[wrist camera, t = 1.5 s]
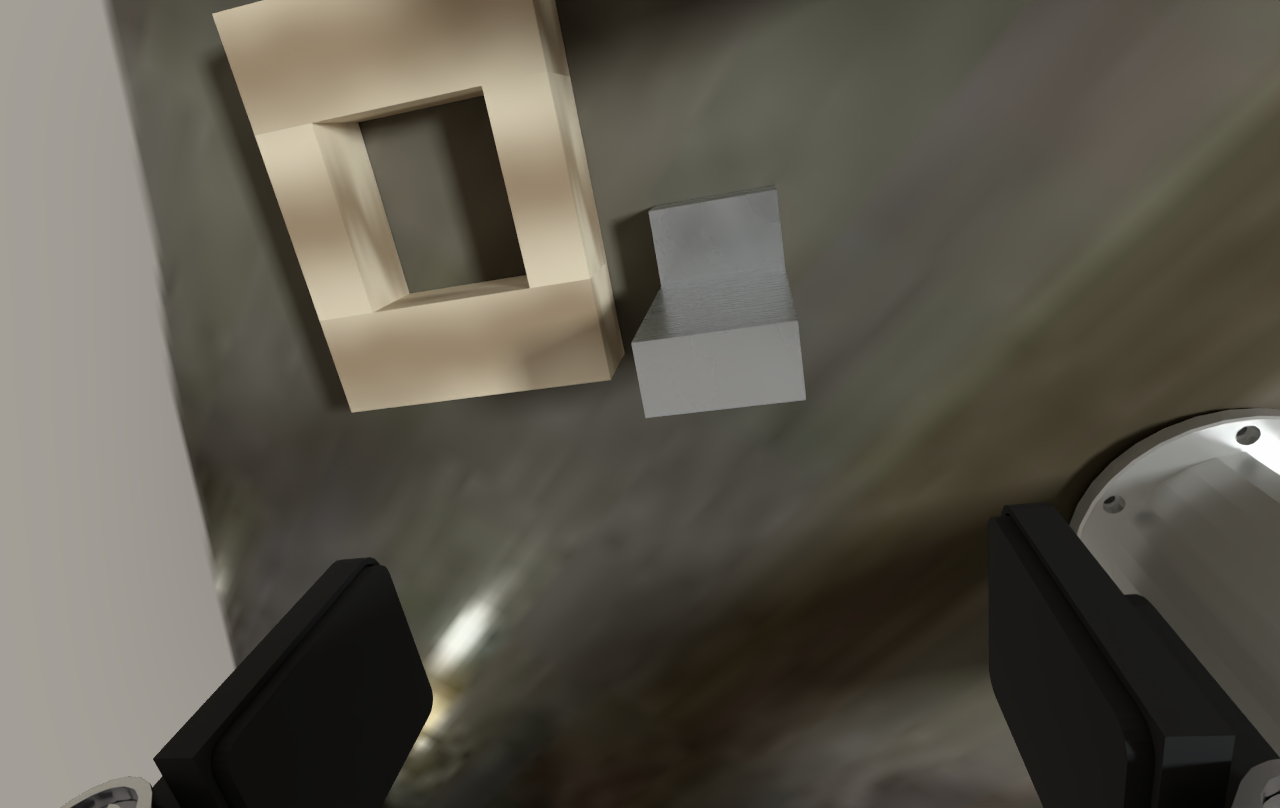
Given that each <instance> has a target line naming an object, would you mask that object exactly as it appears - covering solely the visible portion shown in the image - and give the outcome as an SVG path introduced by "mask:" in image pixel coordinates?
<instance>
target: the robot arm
mask: <svg viewBox="0 0 1280 808" xmlns="http://www.w3.org/2000/svg"><path fill="white" fill-rule="evenodd" d="M988 566H989V672H990V678H991V683H992V687H993V691H994V694H995V696H996V699H997V701H998V703H999V706H1000V708H1001V710H1002V713H1003V715H1004V717H1005V720H1006V722H1007V724H1008V726H1009V729H1010V731H1011V733H1012V736H1013V738H1014V740H1015V743H1016V745H1017V747H1018V750H1019V752H1020V754H1021V757H1022V759H1023V761H1024V764H1025V766H1026V768H1027V770H1028V773H1029V775H1030V777H1031V780H1032V782H1033V784H1034V787H1035V789H1036V791H1037V794H1038V796H1039V798H1040V801H1041V803H1042V805H1043V808H1280V410H1277V409H1267V408H1252V409H1235V410H1225V411H1221V412H1216V413H1211V414H1207V415H1202V416H1197V417H1194V418H1191V419H1188V420H1185V421H1183V422H1180V423H1177V424H1175V425H1172V426H1169V427H1166V428H1164V429H1162V430H1160V431H1158V432H1156V433H1155V434H1153V435H1151V436H1149V437H1147V438H1145V439H1143V440H1142V441H1140V442H1138V443H1136V444H1135V445H1133V446H1132V447H1131V448H1129V449H1128V450H1127V451H1125V452H1124V453H1123V454H1121V455H1120V456H1119V457H1118V458H1116V459H1115V460H1114V461H1112V462H1111V463H1110V464H1109V465H1108V466H1107V467H1106V468H1105V469H1104V470H1103V472H1102V473H1101V474H1100V475H1099V476H1098V477H1097V478H1096V479H1095V480H1094V481H1093V482H1092V483H1091V485H1090V486H1089V488H1088V489H1087V491H1086V492H1085V494H1084V495H1083V497H1082V498H1081V500H1080V501H1079V503H1078V504H1077V507H1076V509H1075V512H1074V514H1073V517H1072V519H1071V522H1070V524H1068V523H1067V522H1066V521H1065V519H1064V518H1063V517H1062V516H1061V514H1060V513H1059V512H1058V511H1057V509H1056V508H1055V507H1054V506H1053V505H1052V504H1051V503H1049V502H1042V503H1029V504H1017V505H1005V506H1004V507H1003V510H1002V515H1001V516H998V517H991V518H990V519H989V524H988ZM432 704H433V693H432V689H431V686H430V683H429V681H428V678H427V675H426V672H425V670H424V667H423V664H422V661H421V659H420V656H419V653H418V650H417V648H416V645H415V642H414V639H413V637H412V634H411V631H410V628H409V626H408V623H407V620H406V617H405V615H404V612H403V609H402V606H401V604H400V601H399V598H398V595H397V592H396V590H395V587H394V584H393V581H392V579H391V576H390V573H389V571H388V569H387V568H386V567H385V566H382V565H379V563H378V562H377V561H376V560H375V559H374V558H371V557H369V558H356V559H344V560H338V561H336V562H335V563H333V564H332V565H331V566H330V567H329V568H328V569H327V571H326V572H325V573H324V574H323V575H322V576H321V577H320V578H319V579H318V580H317V581H316V582H315V584H314V585H313V586H312V587H311V588H310V589H309V590H308V591H307V592H306V593H305V594H304V595H303V597H302V598H301V599H300V600H299V601H298V602H297V603H296V604H295V605H294V606H293V607H292V609H291V610H290V611H289V612H288V613H287V614H286V615H285V616H284V617H283V618H282V619H281V620H280V622H279V623H278V624H277V625H276V626H275V627H274V628H273V629H272V630H271V631H270V632H269V633H268V635H267V636H266V637H265V638H264V639H263V640H262V641H261V642H260V643H259V644H258V645H257V646H256V648H255V649H254V650H253V651H252V652H251V653H250V654H249V655H248V656H247V657H246V658H245V660H244V661H243V662H242V663H241V664H240V665H239V666H238V667H237V668H236V669H235V670H234V671H233V673H232V674H231V675H230V676H229V677H228V678H227V679H226V680H225V681H224V683H222V684H221V686H220V687H219V688H218V689H217V690H216V691H215V692H214V693H213V694H212V696H210V698H209V699H208V700H207V701H206V702H205V703H204V704H203V705H202V706H201V707H200V708H199V710H198V711H197V712H196V713H195V714H194V715H193V716H192V717H191V718H190V719H189V720H188V721H187V722H186V724H185V725H184V726H183V727H182V728H181V729H180V730H179V731H178V732H177V733H176V734H175V736H174V737H173V738H172V739H171V740H170V741H169V742H168V743H167V744H166V745H165V746H164V748H163V749H162V750H161V751H160V752H159V753H158V754H157V755H156V756H155V757H154V758H153V760H154V761H155V763H156V765H157V767H158V768H159V770H160V772H161V774H162V777H161V779H160V780H159V781H158V782H157V783H156V784H155V785H154V787H153V788H152V786H151V784H150V783H149V782H147V781H146V780H144V779H143V778H141V777H124V778H120V779H115V780H111V781H108V782H106V783H103V784H101V785H98V786H96V787H93V788H91V789H90V790H88V791H86V792H84V793H82V794H81V795H79V796H77V797H75V798H74V799H72V800H71V801H69V802H68V803H66V804H65V805H64V806H62V807H61V808H381V806H382V804H383V802H384V800H385V798H386V797H387V795H388V793H389V791H390V789H391V787H392V785H393V783H394V781H395V779H396V778H397V776H398V774H399V772H400V770H401V768H402V766H403V764H404V762H405V760H406V759H407V757H408V755H409V753H410V751H411V749H412V747H413V745H414V743H415V742H416V740H417V738H418V736H419V734H420V732H421V730H422V728H423V726H424V724H425V723H426V721H427V719H428V717H429V715H430V712H431V709H432Z"/></svg>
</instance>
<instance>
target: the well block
mask: <svg viewBox="0 0 1280 808" xmlns="http://www.w3.org/2000/svg"><path fill="white" fill-rule="evenodd" d="M212 15H213V18H214V21H215V23H216V26H217V29H218V32H219V35H220V38H221V41H222V43H223V46H224V49H225V52H226V55H227V58H228V61H229V63H230V66H231V69H232V72H233V75H234V78H235V81H236V83H237V86H238V89H239V92H240V95H241V98H242V100H243V103H244V106H245V109H246V112H247V115H248V118H249V120H250V123H251V126H252V129H253V132H254V135H255V138H256V140H257V143H258V146H259V149H260V152H261V155H262V158H263V160H264V163H265V166H266V169H267V172H268V175H269V178H270V180H271V183H272V186H273V189H274V192H275V195H276V198H277V200H278V203H279V206H280V209H281V212H282V215H283V218H284V220H285V223H286V226H287V229H288V232H289V235H290V238H291V240H292V243H293V246H294V249H295V252H296V255H297V258H298V260H299V263H300V266H301V269H302V272H303V275H304V278H305V280H306V283H307V286H308V289H309V292H310V295H311V298H312V300H313V303H314V306H315V309H316V312H317V315H318V318H319V320H320V323H321V326H322V329H323V332H324V335H325V338H326V340H327V343H328V346H329V349H330V352H331V355H332V358H333V360H334V363H335V366H336V369H337V372H338V375H339V378H340V380H341V383H342V386H343V389H344V392H345V395H346V398H347V400H348V403H349V406H350V409H351V412H359V411H367V410H375V409H383V408H391V407H399V406H407V405H415V404H423V403H431V402H439V401H447V400H455V399H463V398H471V397H479V396H487V395H495V394H503V393H511V392H519V391H527V390H535V389H543V388H551V387H559V386H567V385H575V384H583V383H591V382H599V381H607V380H611V379H612V377H613V375H614V373H615V371H616V369H617V367H618V366H619V364H620V362H621V360H622V358H623V356H624V354H625V353H624V348H623V343H622V338H621V333H620V328H619V323H618V318H617V312H616V307H615V302H614V297H613V292H612V287H611V282H610V277H609V272H608V267H607V262H606V257H605V252H604V246H603V241H602V236H601V231H600V226H599V221H598V216H597V211H596V206H595V201H594V196H593V191H592V186H591V180H590V175H589V170H588V165H587V160H586V155H585V150H584V145H583V140H582V135H581V130H580V125H579V119H578V114H577V109H576V104H575V99H574V94H573V89H572V84H571V79H570V74H569V69H568V64H567V59H566V53H565V48H564V43H563V38H562V33H561V28H560V23H559V18H558V13H557V8H556V3H555V0H263V1H259V2H256V3H252V4H248V5H244V6H240V7H237V8H233V9H229V10H225V11H221V12H218V13H214V14H212ZM483 95H484V98H485V102H486V106H487V110H488V114H489V119H490V123H491V127H492V131H493V135H494V140H495V144H496V148H497V152H498V156H499V161H500V165H501V169H502V173H503V177H504V182H505V186H506V190H507V194H508V198H509V203H510V207H511V211H512V215H513V219H514V224H515V228H516V232H517V236H518V240H519V245H520V249H521V253H522V257H523V261H524V266H525V270H526V274H527V275H523V276H517V277H510V278H504V279H498V280H492V281H485V282H479V283H473V284H467V285H460V286H454V287H448V288H442V289H435V290H429V291H423V292H417V293H410V294H409V291H408V287H407V284H406V281H405V277H404V274H403V271H402V267H401V264H400V261H399V257H398V254H397V250H396V247H395V244H394V240H393V237H392V234H391V230H390V227H389V224H388V220H387V217H386V214H385V210H384V207H383V204H382V200H381V197H380V194H379V190H378V187H377V184H376V180H375V177H374V174H373V170H372V167H371V164H370V160H369V157H368V154H367V150H366V147H365V144H364V140H363V137H362V134H361V130H360V127H359V124H358V123H359V122H363V121H368V120H373V119H377V118H382V117H386V116H391V115H396V114H400V113H405V112H409V111H414V110H419V109H423V108H428V107H433V106H437V105H442V104H446V103H451V102H456V101H460V100H465V99H470V98H474V97H479V96H483Z"/></svg>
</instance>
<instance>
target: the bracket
mask: <svg viewBox="0 0 1280 808" xmlns="http://www.w3.org/2000/svg"><path fill="white" fill-rule="evenodd" d="M649 218H650V224H651V229H652V235H653V241H654V247H655V253H656V259H657V264H658V270H659V276H660V282H661V287H660V289H659V291H658V293H657V295H656V297H655V299H654V301H653V303H652V304H651V306H650V308H649V310H648V312H647V314H646V316H645V318H644V320H643V322H642V324H641V325H640V327H639V329H638V331H637V333H636V335H635V337H634V339H633V341H632V343H631V345H632V350H633V355H634V360H635V365H636V371H637V376H638V381H639V386H640V391H641V397H642V402H643V407H644V412H645V417H646V418H649V417H658V416H667V415H676V414H685V413H694V412H702V411H711V410H720V409H729V408H738V407H747V406H755V405H764V404H773V403H782V402H791V401H799V400H806V394H805V385H804V375H803V366H802V356H801V347H800V337H799V328H798V319H797V315H796V311H795V307H794V303H793V299H792V295H791V291H790V286H789V282H788V278H787V274H786V270H785V264H784V254H783V245H782V236H781V227H780V218H779V208H778V199H777V190H776V187H775V185H771V186H766V187H760V188H754V189H748V190H743V191H737V192H731V193H725V194H720V195H714V196H708V197H702V198H697V199H691V200H685V201H679V202H674V203H668V204H662V205H656V206H654V207H653V208H652V209H651V210H650V211H649Z"/></svg>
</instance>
